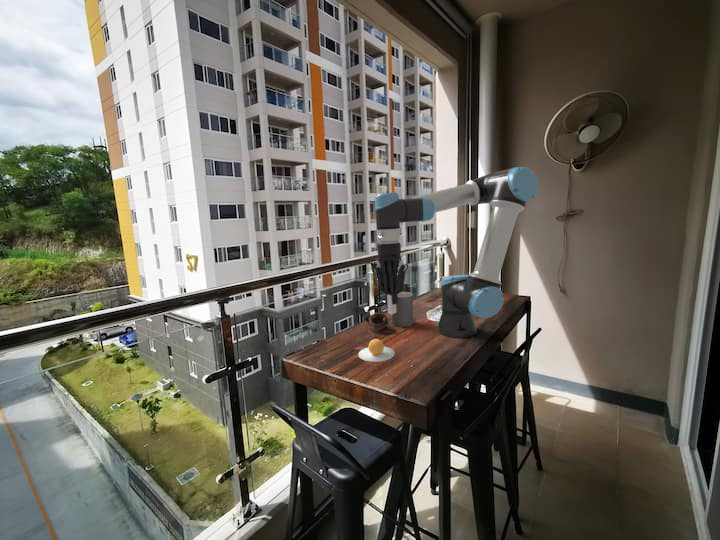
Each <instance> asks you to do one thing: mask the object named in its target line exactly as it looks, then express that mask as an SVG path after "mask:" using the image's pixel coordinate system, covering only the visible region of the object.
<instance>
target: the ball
mask: <svg viewBox="0 0 720 540" xmlns="http://www.w3.org/2000/svg"><path fill="white" fill-rule="evenodd" d="M384 347H385V345H384V343H383V341H382V340H381V339H378V338H374V339H372V340H370V341H369V344H368V347H367V348H369V351H370V352H371V353H372V354H374V355H379V354H381V353H382V352H383V350H384Z"/></svg>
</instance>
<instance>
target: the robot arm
mask: <svg viewBox="0 0 720 540" xmlns="http://www.w3.org/2000/svg"><path fill="white" fill-rule="evenodd" d="M538 190H539V181H538V178H537V175H536V174H535V172H534V171H533V170H532V169H531V168H529V167H527V166H519V167H518V166H515V167H511V168H509V169H504V170H497V171H494V172H491V173H488V174H485V175H482V176H480V177H477V178H474V179H470V180H468V181H466V182H465V184H461V185H457V186H453V187H449V188H445V189H441V190H438V191H433V192H430V193H425V194H421V195H418V196H413V197H410V198H400V197H399V193H397V192H383V193H378V194H376V195H375V197H374V212H375V227H376V242H377V245H376V246H377V247H376V248H377V254H378V260H377V261H376V262H375V263H372V266H373V269H374V270H375V275H376V278H377V282H378V286H379V291H380V292H381V293H382V292H383V293H384V295H385V303H386V304H387V314H388V315H392V314H394V313H396V312H397V311H396V304H397V303H398V297H397V294H398V293H401V292H404V291H403V290H404V285H405V279H406V273H407V272H406V271H407V270H408V268H409V264H408V263H404V262H403V261H402V258H401V253H402V247H401V246H402V245H401V242H400V241H401V238H402V237H401V224H403V223H417V222H422V223H424V222H426V221H431V220H432V219H433V218H434V216H435V213H439V212H442V211H443V212H444V211H447V210H450V209H455V208H459V207H462V206H465V205H470V206H477V205H483V204H490V206H491V208H492V210H491V213H490V216H489V220H488V224H487V227H486V230H485V234H484V236H483V240H482V244H481V246H480V251H479V254H478V256H477V260H476V263H475V266H474V269H473V272H471V273H469V274H456V275H449V276H448V275H447V276H444V277H442V278H441V283H440V289H441V291H440V292H441V314H440V318H439V321H438V323H437V331H438V333H439V334H441V335H443V336H446V337H451V338H468V337H471V336H475V334H477V332H478V331H477V324H476V321H475V318H474V316H475V317H480V318H482V319H488V318H492V317H493V316H495V315H497V314H498V313H499V312H500V310H501V309H503V305H504V301H505V297H504V293H503V291H502V290H501V286H502V282H501V281H500V278H499V277H500V274H501V271H502V268H503V265H504V261H505V257H506V254H507V252H508V247H509V244H510V241H511V238H512V234H513V231H514V228H515V225H516V221H517V217H518V214H519V213H520V212H523V211H524V210H525V208H526V203H527V202H529V201H531V200H532V199H534V198H535V196H536V195H537V194H538Z"/></svg>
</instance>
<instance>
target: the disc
mask: <svg viewBox="0 0 720 540" xmlns="http://www.w3.org/2000/svg"><path fill="white" fill-rule="evenodd" d="M395 354H396V352H395V350H394V349H392V348H391V347H388V346H384V350H383V352H382V353H381V354H379V355H374V354H372V353H371V352H370V351H369V348H368V347H364V348H363V349H361V350H360V351H359V352H358V354H357V355H358V358H359V359H361V360H362V361H365V362H369V363H379V362H386V361H389V360H390V359H392V358H394V356H395Z"/></svg>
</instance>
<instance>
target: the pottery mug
mask: <svg viewBox="0 0 720 540" xmlns="http://www.w3.org/2000/svg"><path fill="white" fill-rule="evenodd" d="M364 319H365V321H366V322H367V323H368V325H369V327H370V331H371V332H372V333H375V331H376V332H377V331H382V330H383V329H385V328H386V327H387V326H388V325H390V322H389V321H388V320H389V318H388V316H387V315H386V314H385V313H382V312H375V313H372V314H369V313H368V314H365V315H364Z"/></svg>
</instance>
